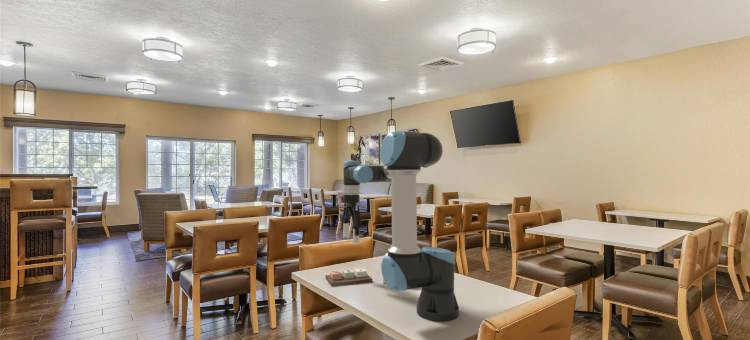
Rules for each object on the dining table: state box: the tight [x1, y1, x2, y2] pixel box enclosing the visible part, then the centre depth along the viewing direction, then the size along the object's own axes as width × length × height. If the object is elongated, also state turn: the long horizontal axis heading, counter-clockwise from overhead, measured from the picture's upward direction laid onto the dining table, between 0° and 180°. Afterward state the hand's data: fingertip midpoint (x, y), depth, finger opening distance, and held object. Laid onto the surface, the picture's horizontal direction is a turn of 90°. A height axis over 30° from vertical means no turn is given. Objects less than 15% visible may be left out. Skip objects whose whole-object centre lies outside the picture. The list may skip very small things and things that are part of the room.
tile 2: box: [342, 269, 355, 279], centre depth 173 cm, size 4×4×3 cm
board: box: [325, 273, 373, 287], centre depth 173 cm, size 12×19×2 cm, turn 109°
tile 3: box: [329, 270, 343, 280], centre depth 171 cm, size 4×4×3 cm
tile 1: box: [354, 268, 368, 278], centre depth 175 cm, size 4×4×3 cm
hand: (351, 239), depth 174 cm, fingers open, 13 cm apart
